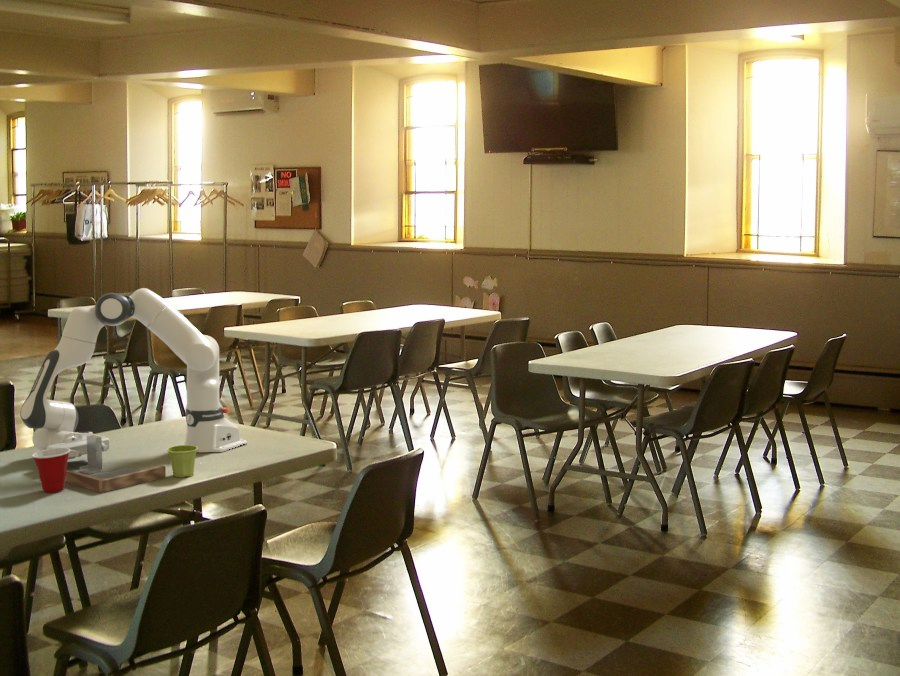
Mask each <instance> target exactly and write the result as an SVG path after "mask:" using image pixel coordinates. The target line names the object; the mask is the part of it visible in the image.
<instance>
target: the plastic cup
mask: <svg viewBox="0 0 900 676" xmlns="http://www.w3.org/2000/svg"><path fill="white" fill-rule="evenodd" d="M69 452H70V449H68V448H54V449H47V450H42V451H39V450H38V451H36V452H34V453H32V454H31V457H32V458H33V460H34V461H35V465H36V468H37V473H38V476H39V481H40V483H41V488H42V491H43V493H46V492H47V493H48V494H53V492H56V493H59V491H60V492H62V490H63V491H64V489H65V485H66V484H65V483H66V471H68V469H67V468H68V461H69V459H68V456H69Z"/></svg>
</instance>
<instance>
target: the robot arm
mask: <svg viewBox="0 0 900 676" xmlns="http://www.w3.org/2000/svg"><path fill="white" fill-rule="evenodd" d="M128 319H135V320H137V321H138V322H140V323H141V324H142V325H143V326H145V327H146V328H147V329H148V330H149V331H151V333H153V334H154V335H155V336H156V337H158V338H159V339H160V340H161V341H162V342H163V343H164V344H165V345H166V346H168V348H169V349H170V350H171V351H172V352H173V353H174V354H175V355H176V357H178V358H179V359H180V360H181V361H182V362H183V363H184V364H185V365H186V385H185V386H186V408H185V420H186V433H185V439H184V440H185V441H184V444H183V445H193V446H197V447H198V450H197V452H196V453H223V452H226V451H230V450H232V448H233V449H235V447H236V448H239V447H241V446H240V445H242V446H244V445H243V444H245V445H247V444H248V442H247V440H246V439H244V438H241V434H240V430H239V427H238V426H237V425H236V424H234V423H233V422H231V420H229V419H228V418H226V417H225V415H224V414H226V415H227V414H229V413H230V410H231V409H230V408H229V407H223V408H222V407H221V406H220V405H221V403H220V346H219V344H218V342H217V340H216V339H215V338H214V337H212V336H210V335H206V334H202V333H201V332H200V331H199V330H198V328H196V327H195V326H194V325H193V324H192V322H190V320H189V319H188V318H187V317H186V316H184V315H183V314H182V313H181V312H180V311H178V310H177V309H176V308H175V307H174V306H173V305H172V304H171V303H169V302H168V301H167V300H166V299H165V298H163V297H162V296H160V295H159V294H157V293H155V292H154V291H153V290H151V289H149V288H146V287H142V288H138V289H136V290H135V291H133V293H132V294H130V295H127V294H126V295H125V294H121V293H118V292H107V293H104V294H103V295H101V296H100V297H99V298H98V299H97V300H96V303H95V305H94V306H92V307H88V306H87V307H86V306H78V307H75V308H73V309H72V310H71V311H70V313H69V316H68V317H67V320H66V322H65V325H64V328H63V331H62V334H61V335H62V336H61V339H60V341H59V343H58V344H57V346H56V347H55V348H54V349H53V350H51V351H49V352H48V353H47V355H45V358H44V360H43V362H42V364H41V366H40V368H39V371H38V373H37V375H36V378H35V380H34V382H33V385H32V387H31V389H30V392H29V394H28V396H27V398H26V399H25V401H24V402H23V404H22V406H21V408H20V413H19V415H20V416H19V417H20V419H21V420H22V422H23V424H24V425H25V426H26V427H27V428H29V429H35V431H34V432H33V434H32V437H31V440H32V444H33V445H34V447H35V448H36V450H38V452H39V451H42V450H47V449H54V448H68V449H70V452H69V456H68V460H73V459H76V458H79V457H82V456H83V455H87V436H89V435H94V436H99V437H101V442H102V453H103V452H107V451H108V450H109V449H110V447H111V445H110V442H111V441H110V438H109V437H107V436H104V435H99V434H94V433H93V431H77V432H76V429H77V427H78V424H79V413H78V410H77V408H76V406H75V405H74V404H73V403H72V402H67V401H60V400H53V399H47V397H48V395H49V392H50V391H51V387H52V385H53V383H54V381H55V378H56V377H57V375H58V374H59V373H61V372H62V371H65V370H68V369H71V368H72V369H73V368H77V367H80V366H82V365H84V364H86V363H87V362H89V361H90V360H91V358H92V357H93V354H94V352H95V348H96V344H97V339H98V336H99V333H100V331H101V329H102V328H103V327H117V326H121V325H122V324H123V323H125V322H126V321H127V320H128ZM246 443H247V444H246ZM238 446H239V447H238ZM229 449H230V450H229Z"/></svg>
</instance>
